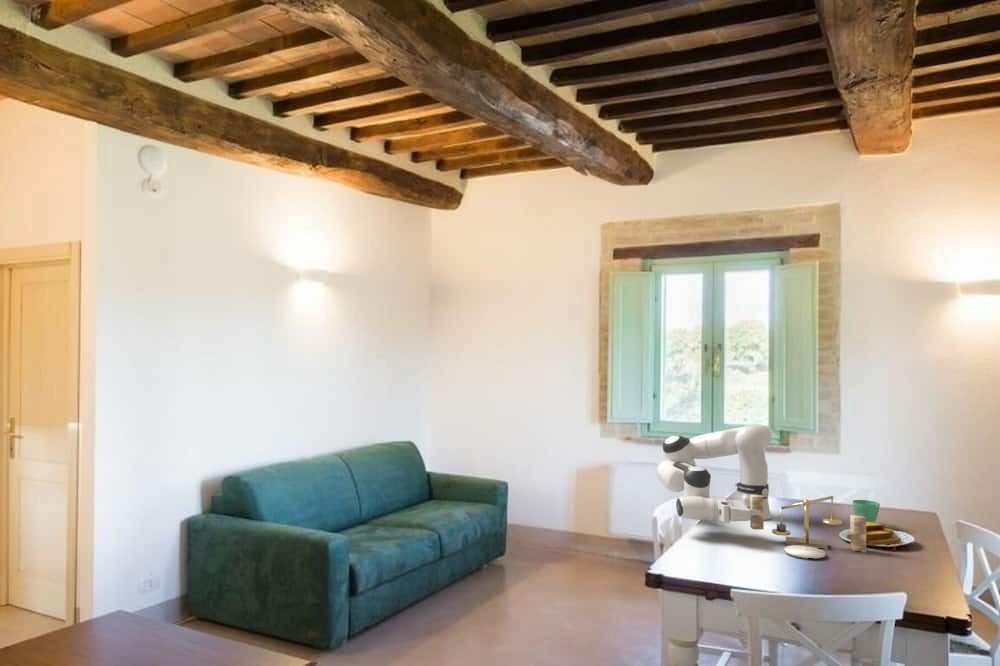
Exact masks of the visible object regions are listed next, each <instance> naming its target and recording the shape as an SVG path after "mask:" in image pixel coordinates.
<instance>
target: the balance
mask: <svg viewBox="0 0 1000 666" xmlns="http://www.w3.org/2000/svg"><path fill="white" fill-rule="evenodd" d="M827 500H828V501H829V500H831V502H830V503H831V510H830V511H831V514H830V515H831V517H830V518H823V519H822V523H823V524H826V525H831V526H841V525H843V521H842V520H841V519H835V518H834V495H830V496H825V497H820V498H816V499H812V500H809V499H804V500H803V501H802V502H797V503H793V504H789V505H787V504H786V505H783V506H780V523H776V528H773V529H772V530H771V533H772V534H773V535H777V536H785V546H790V545H800V546H809V547H816V548H824V549H823V550H827V549H828V548H829V545H828V544H829V543H828V540H824V539H823V540H822V539H815V538H810V537H809V536H810V534H809V533H810V532H809V531H810V529H809V528H810V526H809V525H810V521H809V520H810V517H809V515H810V509H809V508H810V507H809V506H810V505H811V504H814V503H815V504H816V503H819V502H824V501H827ZM800 506H803V537H796V536H790V535H791V533H792V532H791V530H788V529H787V524H785V523H783V510H786V509H790V508H795V507H800Z"/></svg>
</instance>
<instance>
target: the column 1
mask: <svg viewBox="0 0 1000 666" xmlns="http://www.w3.org/2000/svg"><path fill="white" fill-rule="evenodd" d="M750 509H752V510H755V509H760V510H761V515H753V516H751V520H749V521H750V522H749V523H750V525H749V526H750V528H751V530H759V531H760V530H765V529H764V525H765V524H764V501H763V496H762V495H750Z"/></svg>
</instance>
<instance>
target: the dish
mask: <svg viewBox="0 0 1000 666" xmlns="http://www.w3.org/2000/svg"><path fill="white" fill-rule="evenodd" d="M784 553H785V554H787V555H790V556H792V557H796V558H800V557H801V559H808V558H813V559H822V558H824V557H826V552H825V551H824V549H818V548H814V547H809V546H800V545H793V546H790V545H786V546H785V547H784Z"/></svg>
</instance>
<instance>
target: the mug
mask: <svg viewBox="0 0 1000 666" xmlns="http://www.w3.org/2000/svg"><path fill="white" fill-rule="evenodd" d="M852 507H853V511H854V515H857V516H863V517H865V518H866V521H868V522H875V523H876V521H877V519H878V518H877V517H878V514H879V511H880V507H881V504H880V502H878V501H874V500H869V499H853V500H852Z"/></svg>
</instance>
